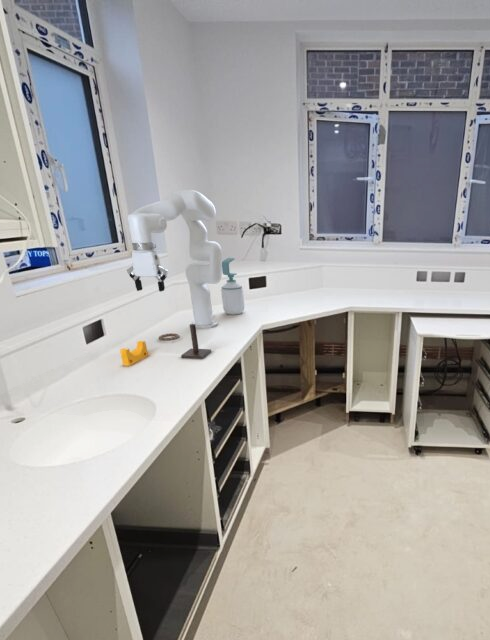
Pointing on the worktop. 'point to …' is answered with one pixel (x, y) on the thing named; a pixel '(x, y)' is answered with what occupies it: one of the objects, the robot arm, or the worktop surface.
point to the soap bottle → (231, 292)
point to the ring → (168, 338)
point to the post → (195, 347)
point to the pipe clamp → (134, 354)
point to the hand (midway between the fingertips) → (150, 290)
